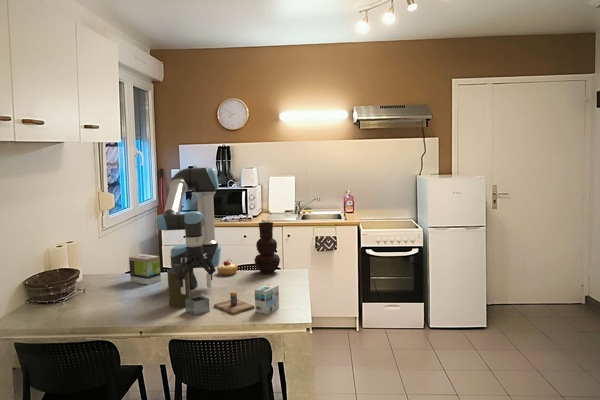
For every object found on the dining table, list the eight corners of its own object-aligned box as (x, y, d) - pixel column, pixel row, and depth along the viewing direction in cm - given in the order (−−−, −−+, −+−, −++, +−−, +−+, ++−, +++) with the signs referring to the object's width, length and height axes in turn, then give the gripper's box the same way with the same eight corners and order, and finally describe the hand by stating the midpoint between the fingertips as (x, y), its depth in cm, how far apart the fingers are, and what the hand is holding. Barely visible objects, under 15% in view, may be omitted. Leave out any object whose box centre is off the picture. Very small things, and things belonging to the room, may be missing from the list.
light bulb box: (266, 314, 228) (265, 291, 227) (254, 312, 232) (253, 289, 230) (279, 307, 237) (279, 285, 236) (268, 305, 241) (267, 283, 239)
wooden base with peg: (214, 306, 241) (213, 292, 240) (234, 300, 249) (234, 286, 248) (233, 314, 229) (232, 299, 228) (254, 308, 237) (253, 293, 236)
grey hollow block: (185, 311, 235) (185, 299, 234) (200, 307, 240) (200, 295, 239) (194, 315, 229) (193, 302, 228) (209, 311, 234) (209, 298, 234)
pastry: (221, 271, 307) (220, 257, 306) (240, 271, 305) (239, 257, 305) (215, 276, 295) (214, 261, 294) (234, 276, 293) (233, 261, 293)
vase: (251, 275, 294) (249, 225, 290) (258, 269, 309) (256, 220, 305) (277, 276, 291) (275, 225, 288) (282, 269, 306) (281, 220, 303)
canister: (171, 309, 238) (169, 268, 235) (166, 303, 247) (164, 263, 245) (194, 305, 243) (192, 265, 240) (188, 299, 252) (186, 260, 250)
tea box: (161, 281, 288) (160, 255, 286) (147, 285, 280) (146, 259, 278) (143, 277, 296) (142, 253, 294) (129, 282, 288) (128, 256, 286)
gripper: (173, 250, 220) (176, 298, 222) (221, 242, 236) (223, 286, 238) (165, 248, 225) (167, 294, 227) (213, 240, 242) (215, 283, 244)
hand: (196, 290), depth 233 cm, fingers open, 13 cm apart
